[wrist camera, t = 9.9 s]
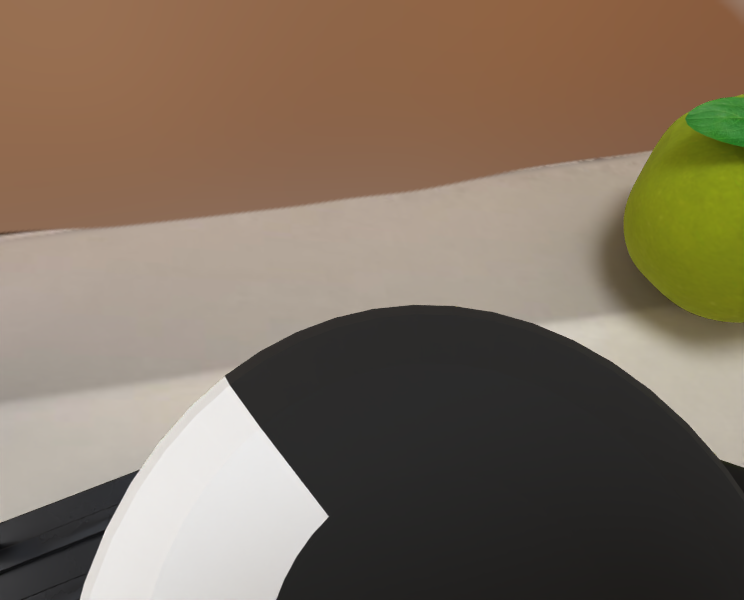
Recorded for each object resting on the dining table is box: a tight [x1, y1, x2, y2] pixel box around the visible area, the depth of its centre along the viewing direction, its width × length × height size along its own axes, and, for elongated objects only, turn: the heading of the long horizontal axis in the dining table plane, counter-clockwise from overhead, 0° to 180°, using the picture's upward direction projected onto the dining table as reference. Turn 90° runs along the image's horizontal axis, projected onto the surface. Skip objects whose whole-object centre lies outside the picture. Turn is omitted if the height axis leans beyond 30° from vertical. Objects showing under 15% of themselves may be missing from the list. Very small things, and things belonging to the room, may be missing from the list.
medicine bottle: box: [80, 305, 744, 600], centre depth 9 cm, size 7×7×12 cm
